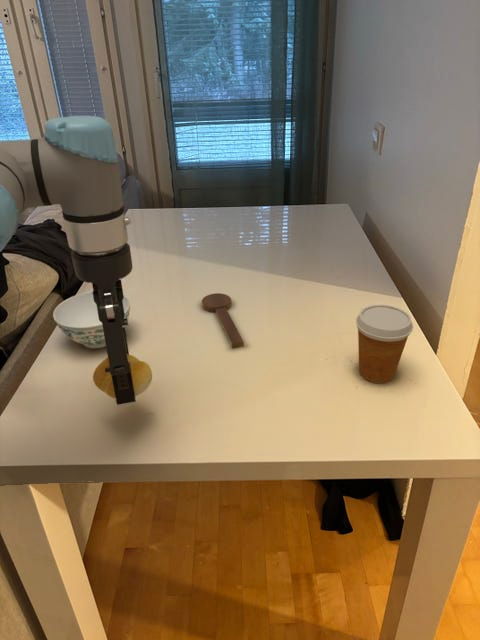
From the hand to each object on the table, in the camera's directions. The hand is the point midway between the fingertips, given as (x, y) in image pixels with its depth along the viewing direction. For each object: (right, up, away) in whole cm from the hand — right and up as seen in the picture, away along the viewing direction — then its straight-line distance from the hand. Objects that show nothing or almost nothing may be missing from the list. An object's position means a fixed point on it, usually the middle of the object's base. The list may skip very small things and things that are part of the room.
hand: (123, 381), depth 72 cm
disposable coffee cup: (+43, 0, +13) cm, 45 cm away
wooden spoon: (+15, +9, +31) cm, 35 cm away
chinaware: (-12, +5, +26) cm, 29 cm away
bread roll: (0, 0, 0) cm, 1 cm away
